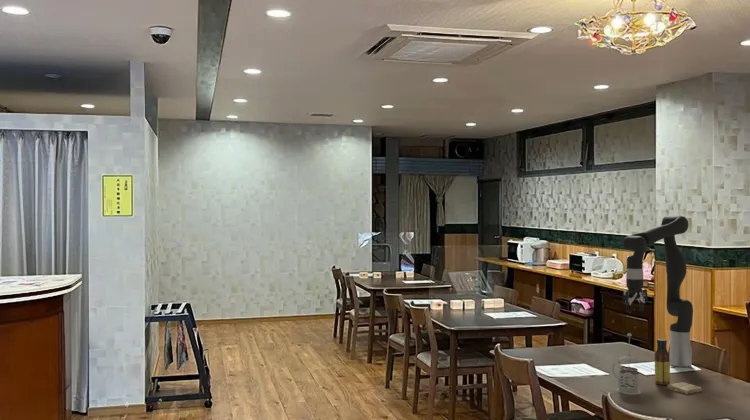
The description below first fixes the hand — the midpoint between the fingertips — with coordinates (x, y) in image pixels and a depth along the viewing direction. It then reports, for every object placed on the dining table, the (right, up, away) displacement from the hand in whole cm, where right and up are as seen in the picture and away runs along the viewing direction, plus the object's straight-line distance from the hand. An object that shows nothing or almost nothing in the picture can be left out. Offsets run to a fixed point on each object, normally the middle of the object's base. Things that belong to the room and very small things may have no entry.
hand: (635, 311), depth 306 cm
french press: (-16, -30, -30) cm, 45 cm away
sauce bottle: (+5, -30, -18) cm, 35 cm away
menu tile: (+8, -29, -24) cm, 38 cm away
